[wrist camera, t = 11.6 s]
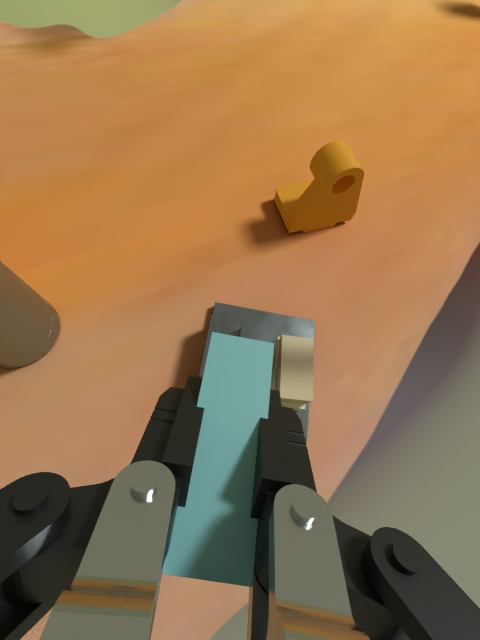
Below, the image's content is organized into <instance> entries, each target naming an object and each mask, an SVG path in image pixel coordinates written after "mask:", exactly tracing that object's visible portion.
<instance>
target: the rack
mask: <svg viewBox="0 0 480 640" xmlns="http://www.w3.org/2000/svg"><path fill="white" fill-rule="evenodd" d="M314 327H315V321H312V320H307V319H302V318H296V317H291V316H286V315H280V314H275V313H270V312H264V311H259V310H254V309H248V308H243V307H238V306H232V305H227V304H222V303H216V302H215V306H214V311H213V315H211V320H210V325H209V329H208V334H207V339H206V344H205V349H204V354H203V359H202V364H201V368H200V373H199V376H200V377H203V374H204V370H205V365H206V360H207V355H208V350H209V346H210V341H211V336H212V332H216V333H221V334H226V335H232V336H237V337H243V338H248V339H253V340H259V341H264V342H270V343H274V341H275V340H276V338H277V337H278V336H279V337H281V336H282V335H288V336H297V337H306V338H313V341H314ZM294 411H295V412H296V414H297V415H298V417H299V418H300V419H301V422H302V427H303V432H304V436H305V441H307V427H308V413H309V403H306V405H305V409H304V410H301V411H296V410H294Z"/></svg>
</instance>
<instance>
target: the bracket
mask: <svg viewBox="0 0 480 640" xmlns="http://www.w3.org/2000/svg"><path fill="white" fill-rule="evenodd" d="M310 170H311V172H312V174H313V176H314V178H315V179H314V180H312V181H307V182H301V183H296V184H290V185H284V186H280V187H278V188H277V191H276V195H275V198H274V201H275V203H276V205H277V208H278V210H279V212H280V214H281V217H282V219H283V221H284V223H285V226H286V228H287V230H288V233H292V232H296V231H301V230H302V233H305V232H309V231H314V230H318V229H323V228H328V227H332V226H335V224H336V223H338V222H343V221H348V220H351V218H352V217H353V215H354V214H355V213H356V209H357V204H358V200H359V195H360V190H361V186H362V181H363V176H364V172H363V170H362V168H361V166H360V165H359V163H358V161H357V159H356V158H355V156H354V154H353V152H352V151H351V149H350V147H349V145H348V144H347V142H345V141H343V140H336V141H332V142H330V143H328V144H326V145H325V146H323V147H322V148H321V149H320V150H318V152H317V153H316V154H315V155H314V157H313V158H312V160H311V163H310Z"/></svg>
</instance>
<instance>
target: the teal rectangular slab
mask: <svg viewBox="0 0 480 640" xmlns="http://www.w3.org/2000/svg"><path fill="white" fill-rule="evenodd" d="M273 352H274V343H270V342H264V341H259V340H253V339H248V338H243V337H237V336H232V335H226V334H221V333H216V332H212V336H211V341H210V346H209V350H208V355H207V360H206V365H205V370H204V374H203V379H202V384H201V389H200V393H199V398H198V403H197V407H202V408H204V413H203V418H202V423H201V429H200V434H199V439H198V444H197V449H196V454H195V460H194V465H193V470H192V475H191V480H190V485H189V491H188V496H187V501H186V506H185V507H180V506H178V507H177V512H176V517H175V522H174V527H173V531H172V536H171V541H170V546H169V550H168V554H167V556H166V558H165V561H164V566H163V570H162V574H168V575H174V576H181V577H188V578H195V579H201V580H208V581H215V582H222V583H229V584H235V585H242V586H249V587H251V584H252V575H253V567H254V558H255V546H256V534H257V523H258V519H255V518H250V517H251V507H252V496H253V486H254V476H255V465H256V455H257V445H258V435H259V424H260V418H266V419H268V410H269V399H270V387H271V375H272V364H273Z"/></svg>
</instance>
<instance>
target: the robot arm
mask: <svg viewBox="0 0 480 640" xmlns="http://www.w3.org/2000/svg"><path fill="white" fill-rule="evenodd" d="M59 330H60V321H59V317H58V314H57V312H56V310H55V309H54V308H53V306H51V305H50V304H49V303H48V302H47V301H46V300H44V299H43V298H42V297H41V296H40V295H39V294H38V293H37V292H35V291H34V290H33V289H32V288H31V287H30V286H29V285H27V284H26V283H25V282H24V281H23V280H22V279H20V278H19V277H18V276H17V275H16V274H15V273H13V272H12V271H11V270H10V269H9V268H8V267H7V266H5V265H4V264H3V263H2V262H1V261H0V367H4V368H17V367H23V366H26V365H29V364H31V363H33V362H35V361H37V360H39V359H40V358H42V357H43V356H44V355H45V354H47V352H48V351H49V350H50V349H51V348H52V347H53V345H54V343H55V342H56V340H57V337H58V335H59ZM202 379H203V377H200V376H194V375H189V378H188V381H187V384H186V387H185V389H179V388H173V387H170V388H169V389H168V390H167V391H165V392H164V393H163V394H162V395H161V396H160V397H159V399H158V402H157V404H156V406H155V410H154V411H153V413H152V416H151V419H150V420H149V423H148V425H147V427H146V430H145V432H144V434H143V437H142V439H141V441H140V444H139V446H138V448H137V451H136V453H135V455H134V458H133V460H132V462H131V463H130V465H129V466H127V467H125V468H124V469H123V470H121V471H120V472H119V473H118V475H117V476H116V477H115V478H113V479H111V480H109V481H106V482H103V483H100V484H95V485H88V486H81V487H74V488H70V486H69V484H68V482H67V481H66V479H65V478H63V477H62V476H60V475H58V474H55V473H50V472H39V473H34V474H30V475H27V476H24V477H22V478H19V479H17V480H16V481H14V482H12V483H10V484H9V485H7V486H5V487H4V488H2V489H0V640H20V639H21V638H22V637H23V636H24V635H25V634H26V633H27V632H28V631H29V630H30V629H31V628H32V627H33V626H34V625H35V624H36V623H37V622H38V621H39V620H40V619H41V618H42V617H43V616H44V615H45V614H46V613H47V612H48V611H49V610H50V609H51V608H52V607H53V606H54V607H53V609H52V611H51V614H50V616H49V618H48V621H47V623H46V625H45V628H44V630H43V633H42V635H41V637H40V640H150V639H151V633H152V627H153V622H154V616H155V611H156V605H157V599H158V594H159V588H160V582H161V577H162V570H163V566H164V560H165V558H166V556H167V554H168V550H169V546H170V541H171V536H172V531H173V527H174V522H175V517H176V512H177V507H178V506H180V507H185V506H186V501H187V496H188V491H189V485H190V480H191V475H192V470H193V465H194V460H195V454H196V449H197V444H198V439H199V434H200V429H201V423H202V418H203V413H204V408H202V407H197V403H198V398H199V393H200V389H201V384H202ZM250 518H255V519H258V523H257V534H256V546H255V558H254V567H253V575H252V584H251V587H249V604H248V624H247V640H480V609H479V607H478V606H477V605H476V604H475V603H474V602H473V601H472V600H471V599H470V598H469V597H468V596H467V594H466V593H465V592H464V591H463V590H462V589H461V588H460V587H459V586H458V585H457V584H456V583H455V582H454V580H453V579H452V578H451V577H450V576H449V575H448V574H447V573H446V572H445V571H444V570H443V569H442V568H441V567H440V565H439V564H438V563H437V562H436V561H435V560H434V559H433V558H432V557H431V556H430V554H429V553H428V552H427V551H426V550H425V549H424V548H423V547H422V546H421V545H420V544H419V543H418V542H417V541H416V540H414V539H413V538H412V537H411V536H409V535H408V534H406V533H404V532H402V531H400V530H398V529H395V528H390V527H383V528H380V529H377V530H376V531H375V532H374V533H373V535H372V536H370V535H368V534H365V533H364V532H361V531H359V530H357V529H355V528H353V527H351V526H349V525H347V524H345V523H343V522H342V521H340V520H339V519H337V518H336V517H334V516H333V515H332V513H331V510H330V508H329V506H328V505H327V503H326V502H325V500H324V499H323V498H322V497H321V496H320V495H319V494H318V493H317V491H316V487H315V482H314V478H313V473H312V469H311V464H310V459H309V455H308V450H307V447H306V441H305V436H304V432H303V427H302V422H301V419H300V418H299V417H298V415H297V414H296V412H295V411H294V410H293V408H288V407H282V404H281V397H280V392H279V390H273V389H270V399H269V410H268V419H266V418H260V424H259V435H258V445H257V455H256V465H255V476H254V486H253V496H252V507H251V517H250Z"/></svg>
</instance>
